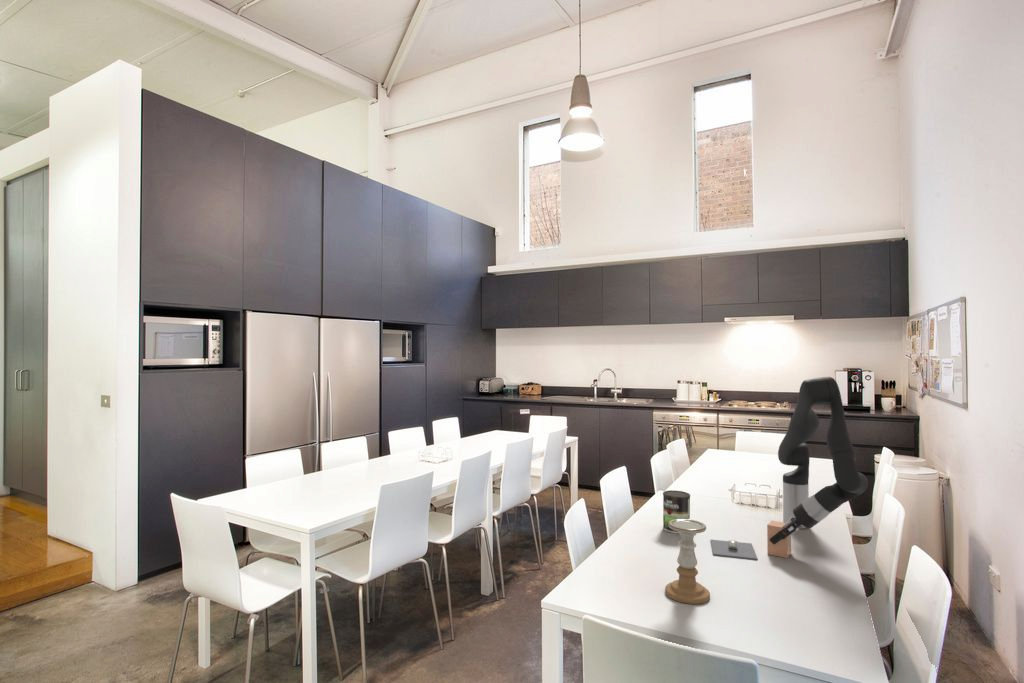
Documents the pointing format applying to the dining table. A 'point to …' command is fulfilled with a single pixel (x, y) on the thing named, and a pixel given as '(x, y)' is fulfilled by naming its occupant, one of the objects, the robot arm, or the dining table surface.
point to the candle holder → (687, 565)
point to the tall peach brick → (783, 545)
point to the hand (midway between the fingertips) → (774, 539)
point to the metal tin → (732, 545)
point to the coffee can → (675, 507)
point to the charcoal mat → (742, 550)
